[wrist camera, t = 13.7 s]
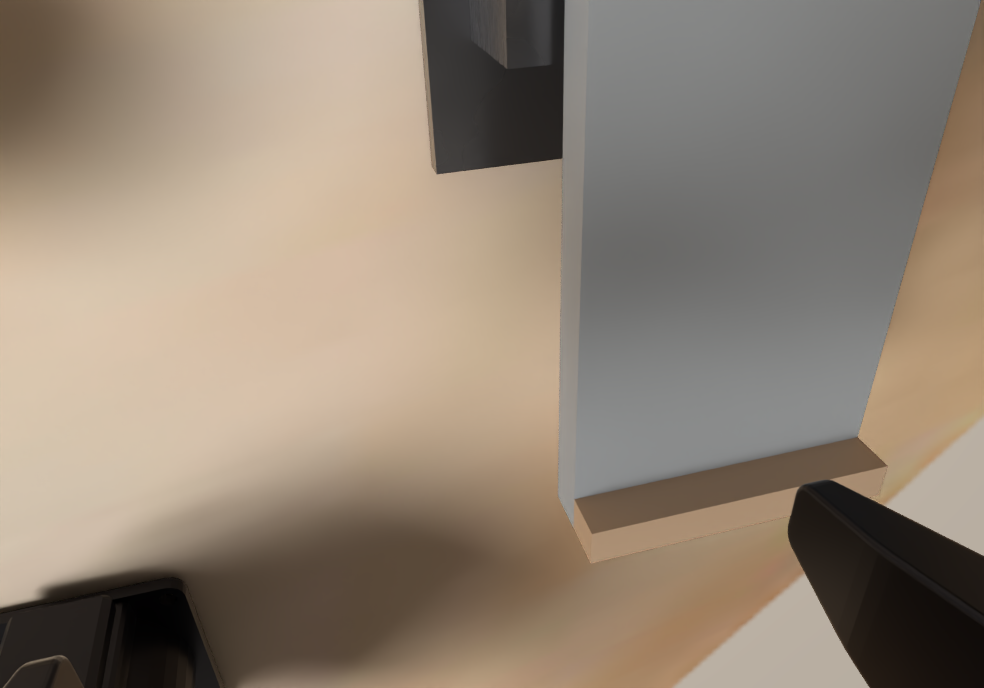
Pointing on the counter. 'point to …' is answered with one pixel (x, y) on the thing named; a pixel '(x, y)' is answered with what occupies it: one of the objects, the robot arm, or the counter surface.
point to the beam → (735, 248)
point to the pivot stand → (493, 81)
